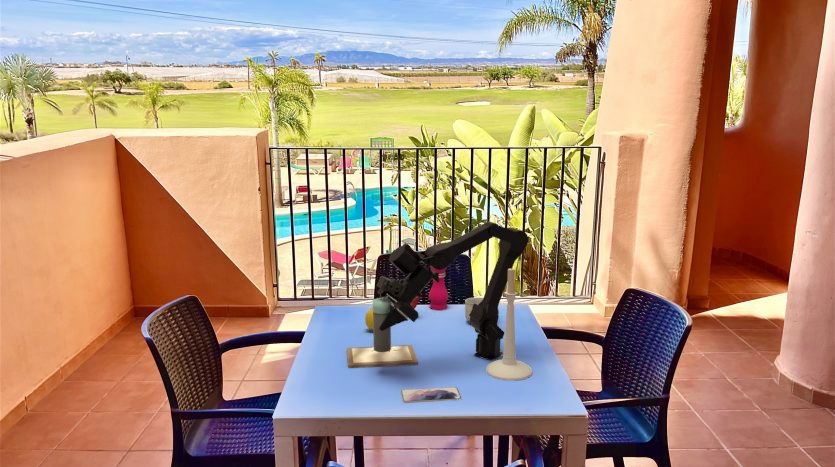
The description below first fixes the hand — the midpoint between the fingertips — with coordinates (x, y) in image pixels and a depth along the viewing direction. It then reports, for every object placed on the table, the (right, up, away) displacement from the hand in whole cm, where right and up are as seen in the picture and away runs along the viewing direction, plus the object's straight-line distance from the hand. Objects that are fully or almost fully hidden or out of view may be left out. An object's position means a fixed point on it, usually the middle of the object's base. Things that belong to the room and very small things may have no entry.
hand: (377, 327), depth 183 cm
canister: (+1, -6, +2) cm, 7 cm away
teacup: (+33, -6, +44) cm, 56 cm away
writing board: (0, -11, +14) cm, 18 cm away
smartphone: (+15, -17, -12) cm, 25 cm away
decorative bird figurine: (+5, -4, +54) cm, 54 cm away
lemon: (-3, -7, +38) cm, 38 cm away
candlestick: (+37, -13, +3) cm, 39 cm away
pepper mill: (+19, -2, +63) cm, 66 cm away
